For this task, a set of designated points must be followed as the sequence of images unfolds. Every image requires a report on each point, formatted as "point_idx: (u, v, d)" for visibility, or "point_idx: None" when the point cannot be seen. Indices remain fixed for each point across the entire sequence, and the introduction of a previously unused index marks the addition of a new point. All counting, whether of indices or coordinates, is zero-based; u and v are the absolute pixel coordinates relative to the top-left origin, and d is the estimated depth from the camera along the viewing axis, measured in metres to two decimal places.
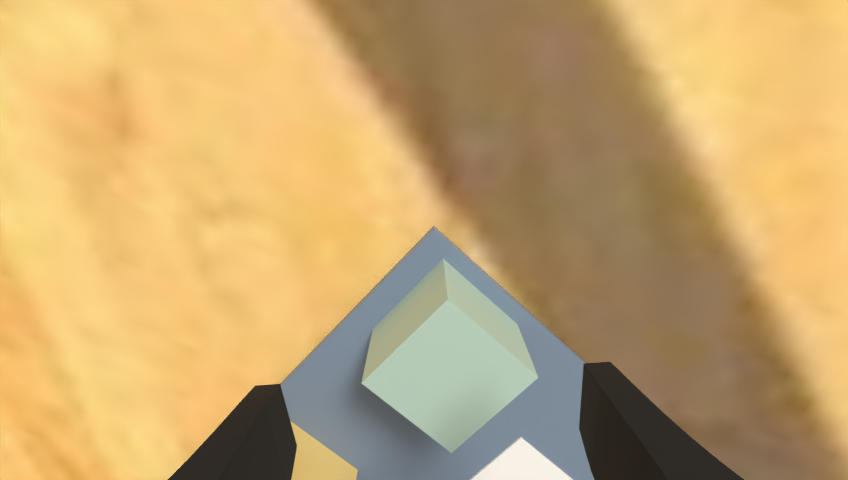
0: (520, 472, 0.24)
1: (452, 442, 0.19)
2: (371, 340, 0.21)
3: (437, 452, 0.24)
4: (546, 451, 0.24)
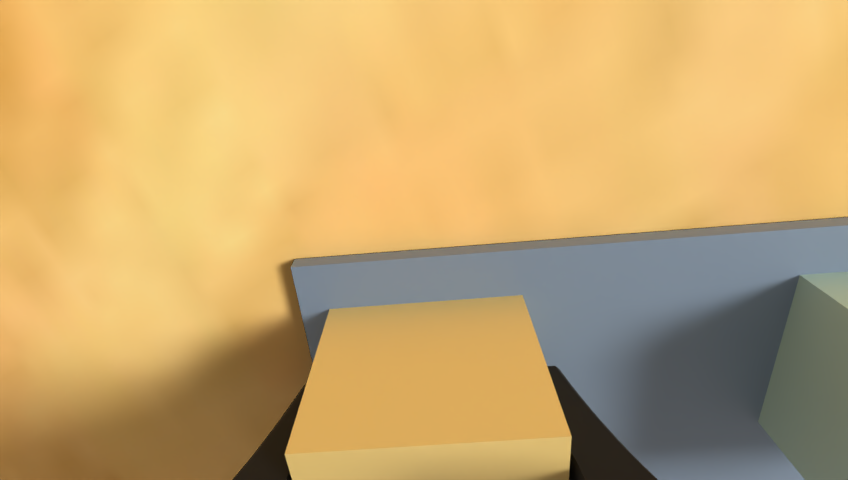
0: None
1: None
2: (842, 302, 0.10)
3: None
4: None
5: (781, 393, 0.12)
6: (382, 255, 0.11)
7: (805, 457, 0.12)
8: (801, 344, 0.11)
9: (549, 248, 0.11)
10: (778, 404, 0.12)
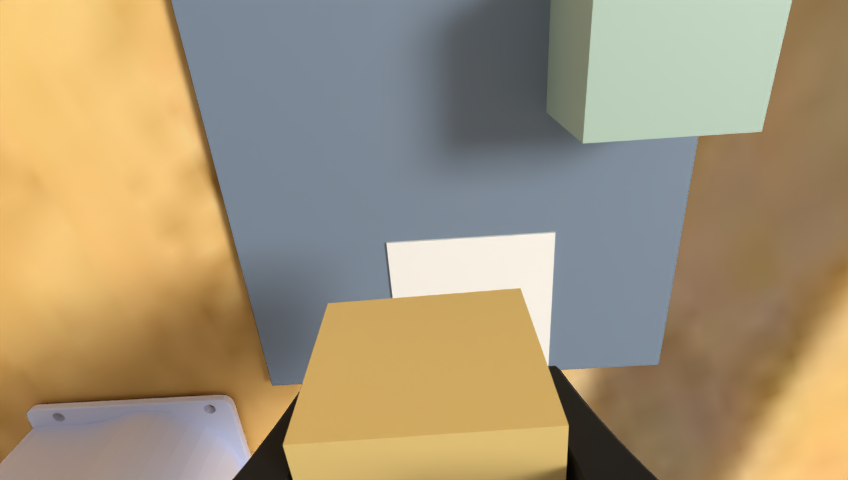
0: (516, 269, 0.19)
1: (598, 130, 0.13)
2: None
3: (462, 179, 0.18)
4: (559, 267, 0.19)
5: (551, 69, 0.15)
6: None
7: (559, 104, 0.15)
8: (554, 12, 0.15)
9: None
10: (550, 80, 0.16)
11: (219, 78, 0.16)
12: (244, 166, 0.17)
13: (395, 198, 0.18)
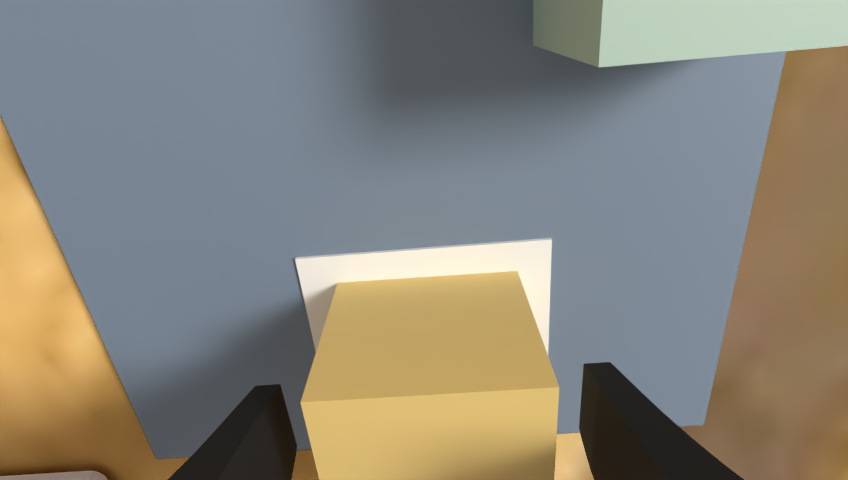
0: None
1: (629, 38, 0.06)
2: None
3: (403, 158, 0.11)
4: (559, 291, 0.13)
5: None
6: None
7: (552, 17, 0.08)
8: None
9: None
10: None
11: None
12: (60, 143, 0.11)
13: (302, 190, 0.12)
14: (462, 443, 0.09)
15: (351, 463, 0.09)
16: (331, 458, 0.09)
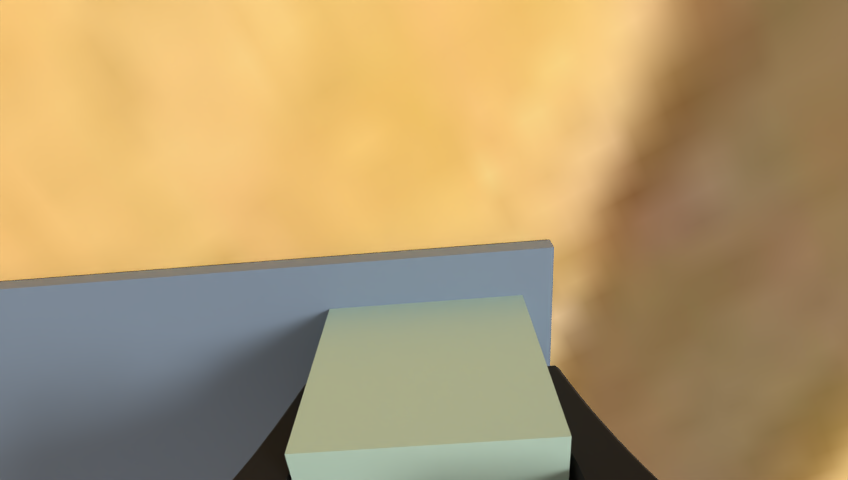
0: None
1: None
2: (324, 338, 0.11)
3: None
4: None
5: None
6: None
7: None
8: None
9: (79, 283, 0.11)
10: None
11: None
12: None
13: None
14: None
15: None
16: None
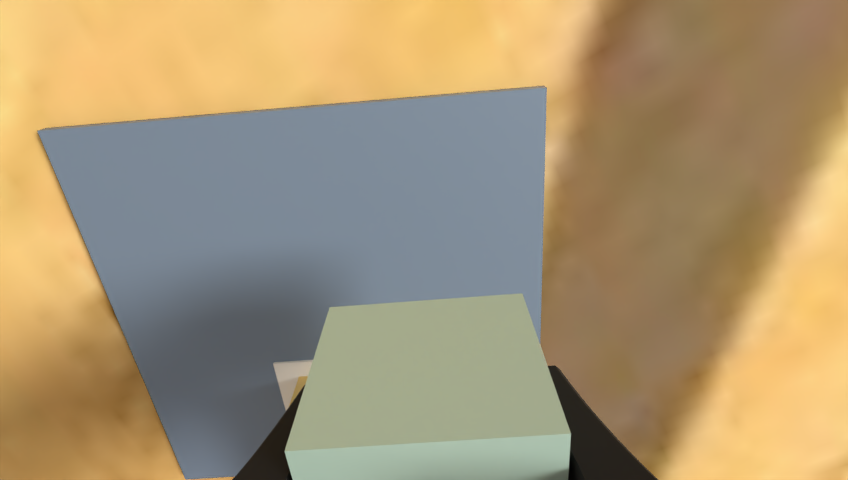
0: None
1: None
2: (324, 336, 0.11)
3: None
4: None
5: None
6: (105, 125, 0.17)
7: None
8: None
9: (212, 117, 0.16)
10: None
11: (106, 235, 0.18)
12: (137, 303, 0.19)
13: (276, 327, 0.20)
14: None
15: None
16: None
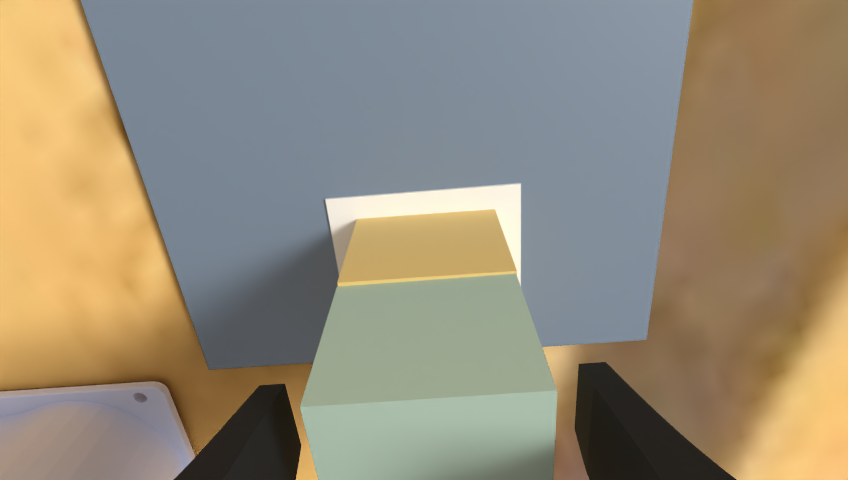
0: None
1: None
2: (332, 311, 0.12)
3: (408, 120, 0.15)
4: (528, 226, 0.17)
5: None
6: None
7: None
8: None
9: None
10: None
11: None
12: (152, 108, 0.15)
13: (332, 145, 0.15)
14: None
15: None
16: None
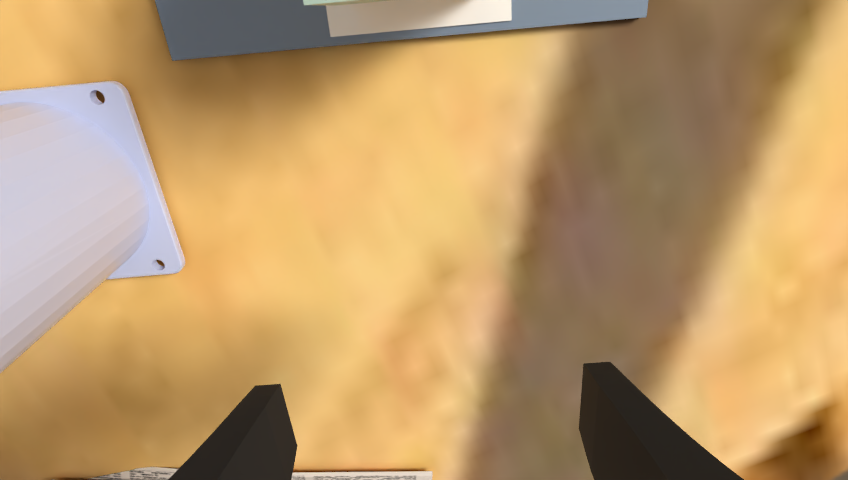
0: None
1: None
2: None
3: None
4: None
5: None
6: None
7: None
8: None
9: None
10: None
11: None
12: None
13: None
14: None
15: None
16: None
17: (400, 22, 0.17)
